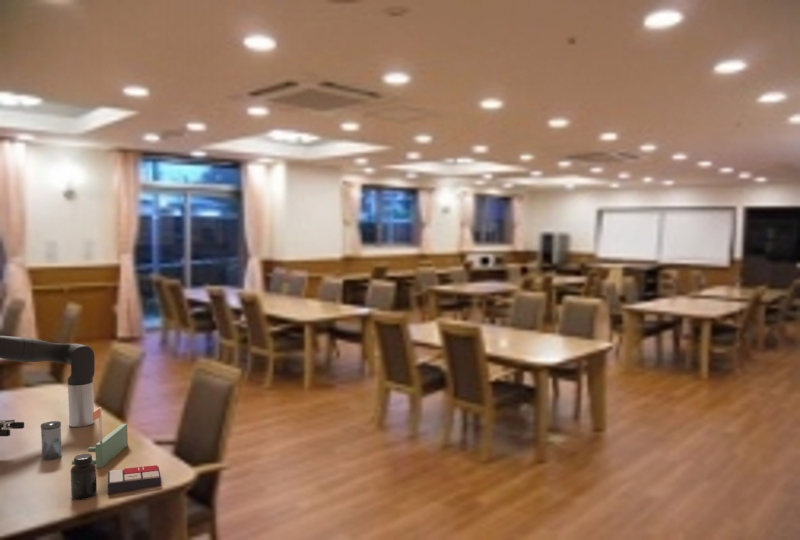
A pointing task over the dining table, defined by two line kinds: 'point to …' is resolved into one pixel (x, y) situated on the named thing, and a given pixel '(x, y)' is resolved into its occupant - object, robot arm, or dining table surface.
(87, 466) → the supplement bottle
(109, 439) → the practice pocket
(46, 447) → the slate canister
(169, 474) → the dining table surface
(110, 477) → the calculator
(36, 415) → the dining table surface
